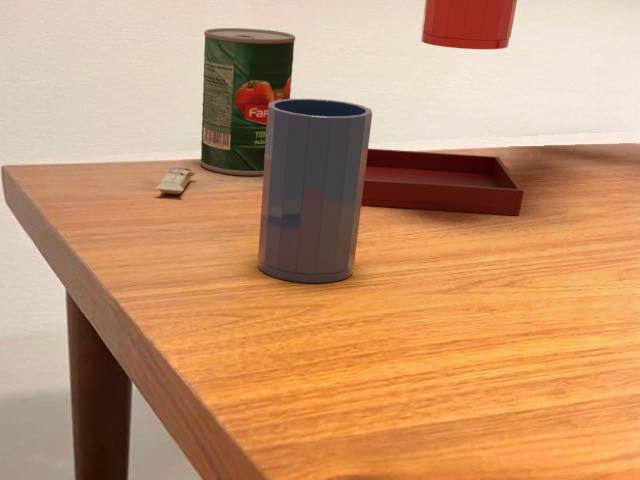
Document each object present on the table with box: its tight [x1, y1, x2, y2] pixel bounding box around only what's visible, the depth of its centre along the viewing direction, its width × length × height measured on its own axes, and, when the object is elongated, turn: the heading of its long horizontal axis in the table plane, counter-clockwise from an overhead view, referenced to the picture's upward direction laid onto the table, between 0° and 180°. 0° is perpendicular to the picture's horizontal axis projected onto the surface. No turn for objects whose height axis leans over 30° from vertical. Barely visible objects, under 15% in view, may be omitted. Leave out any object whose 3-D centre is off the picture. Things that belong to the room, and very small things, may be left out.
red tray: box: [361, 147, 525, 217], centre depth 84 cm, size 15×13×2 cm
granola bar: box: [154, 167, 196, 195], centre depth 81 cm, size 7×1×3 cm
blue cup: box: [257, 98, 373, 284], centre depth 63 cm, size 6×6×10 cm
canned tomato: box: [199, 27, 296, 177], centre depth 87 cm, size 8×8×11 cm
